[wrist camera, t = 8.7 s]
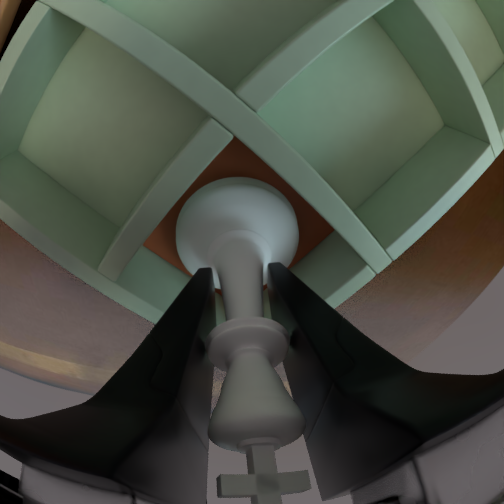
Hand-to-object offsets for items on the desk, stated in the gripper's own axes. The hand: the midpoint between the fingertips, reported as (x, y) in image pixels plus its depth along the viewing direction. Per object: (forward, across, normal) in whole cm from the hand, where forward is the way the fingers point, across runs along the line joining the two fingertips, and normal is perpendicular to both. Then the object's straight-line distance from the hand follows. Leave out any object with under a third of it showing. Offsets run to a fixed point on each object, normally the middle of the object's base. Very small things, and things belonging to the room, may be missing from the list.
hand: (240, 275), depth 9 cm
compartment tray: (+3, -2, -8) cm, 9 cm away
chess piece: (+3, 0, 0) cm, 3 cm away
